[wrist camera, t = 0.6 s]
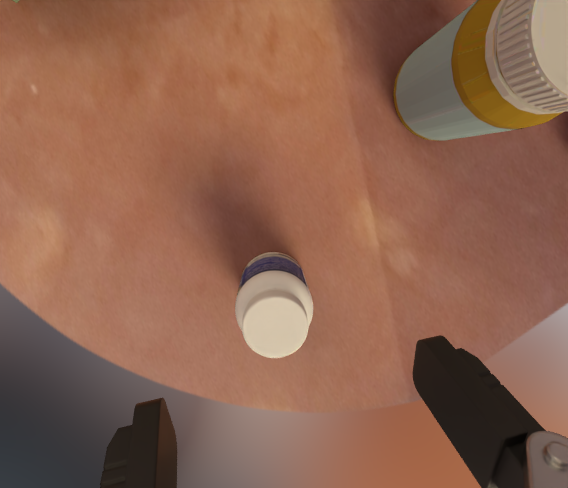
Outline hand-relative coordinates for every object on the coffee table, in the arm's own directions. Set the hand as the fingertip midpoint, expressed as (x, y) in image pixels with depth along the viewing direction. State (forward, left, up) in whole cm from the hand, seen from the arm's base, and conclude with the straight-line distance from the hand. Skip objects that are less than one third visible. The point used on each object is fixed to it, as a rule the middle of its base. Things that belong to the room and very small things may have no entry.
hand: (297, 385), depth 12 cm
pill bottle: (+2, +2, -19) cm, 20 cm away
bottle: (-17, -1, -19) cm, 26 cm away
